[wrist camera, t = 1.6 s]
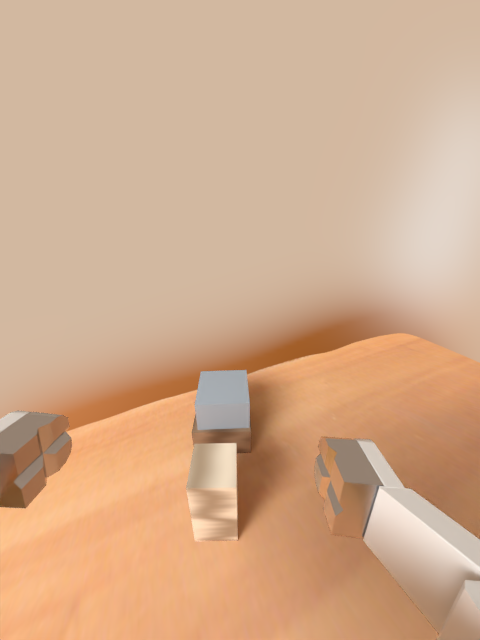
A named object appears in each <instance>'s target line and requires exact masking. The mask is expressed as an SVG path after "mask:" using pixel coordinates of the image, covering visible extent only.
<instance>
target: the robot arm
mask: <svg viewBox="0 0 480 640" xmlns="http://www.w3.org/2000/svg"><path fill="white" fill-rule="evenodd" d="M68 428H69V422H68V417H66V416H64V415H56V414H47V413H37V412H25V411H15V412H11V413H9V414H8V415H6V416H4V417H3V418H1V419H0V507H9V508H26V507H27V506H28V505H29V504H30V503H31V502H32V501H33V499H34V498H35V497H36V496H37V495H38V494H39V493H40V492H41V490H42V489H43V488H44V487H45V486H46V483H47V477H49V476H51V475H53V474H54V473H56V472H58V471H59V470H60V469H61V467H62V466H63V465H64V464H65V463H66V461H67V459H68V457H69V455H70V453H71V447H72V440H71V437H70V436H69V435H68V434H67V433H66V430H67V429H68ZM318 448H319V450H320V453H321V454H320V455H319V456H318V457H317V458H316V461H315V481H316V486H317V489H318V493H319V494H320V495H321V496H322V497H323V498H324V499H325V503H324V507H323V510H324V513H325V516H326V519H327V523H328V526H329V529H330V532H331V535H338V536H346V537H354V538H363V541H364V542H365V543H366V545H367V546H368V547H369V548H370V550H371V551H372V552H373V553H374V555H375V556H376V557H377V558H378V560H379V561H380V562H381V563H382V564H383V566H384V567H385V568H386V569H387V571H388V572H389V573H390V574H391V576H392V577H393V578H394V579H395V581H396V582H397V583H398V584H399V585H400V587H401V588H402V589H403V590H404V592H405V593H406V594H407V595H408V597H409V598H410V599H411V600H412V602H413V603H414V604H415V605H416V606H417V608H418V609H419V610H420V611H421V613H422V614H423V615H424V616H425V618H426V619H427V620H428V621H429V623H430V624H431V625H432V626H433V627H434V629H435V630H436V631H437V632H438V636H437V638H436V640H480V539H478V538H477V537H476V536H474V535H473V534H471V533H470V532H469V531H467V530H466V529H465V528H463V527H462V526H461V525H459V524H458V523H457V522H455V521H454V520H453V519H451V518H450V517H448V516H447V515H446V514H444V513H443V512H442V511H440V510H439V509H438V508H436V507H435V506H434V505H432V504H431V503H429V502H428V501H427V500H425V499H424V498H423V497H421V496H420V495H419V494H417V493H416V492H415V491H413V490H412V489H407V488H405V487H404V486H403V484H402V483H401V481H400V480H399V478H398V477H397V475H396V474H395V473H394V471H393V470H392V468H391V467H390V465H389V464H388V462H387V461H386V459H385V458H384V456H383V455H382V454H381V452H380V451H379V449H378V448H377V446H376V445H375V443H374V442H373V441H371V440H370V439H349V438H335V437H321V438H320V440H319V445H318Z"/></svg>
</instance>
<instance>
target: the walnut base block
mask: <svg viewBox="0 0 480 640" xmlns="http://www.w3.org/2000/svg"><path fill="white" fill-rule="evenodd" d="M192 438H193V445H194V444H210V443H236V446H237V453H251V424H250V428H233V429H208V430H198V428H197V420H196V414H195V419H194V424H193V429H192Z"/></svg>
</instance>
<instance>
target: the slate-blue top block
mask: <svg viewBox="0 0 480 640" xmlns="http://www.w3.org/2000/svg"><path fill="white" fill-rule="evenodd" d="M195 411H196V420H197V428H198V430H208V429H233V428H250V400H249V391H248V381H247V372H246V370H235V371H234V370H233V371H204V372H201V374H200V380H199V385H198V390H197V396H196V401H195Z"/></svg>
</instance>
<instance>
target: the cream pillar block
mask: <svg viewBox="0 0 480 640" xmlns="http://www.w3.org/2000/svg"><path fill="white" fill-rule="evenodd" d="M186 490H187V496H188V502H189V508H190V514H191V520H192V526H193V532H194V537H195V541H235V540H238V486H237V446H236V443H210V444H194V449H193V455H192V460H191V465H190V471H189V476H188V481H187V487H186Z"/></svg>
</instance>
